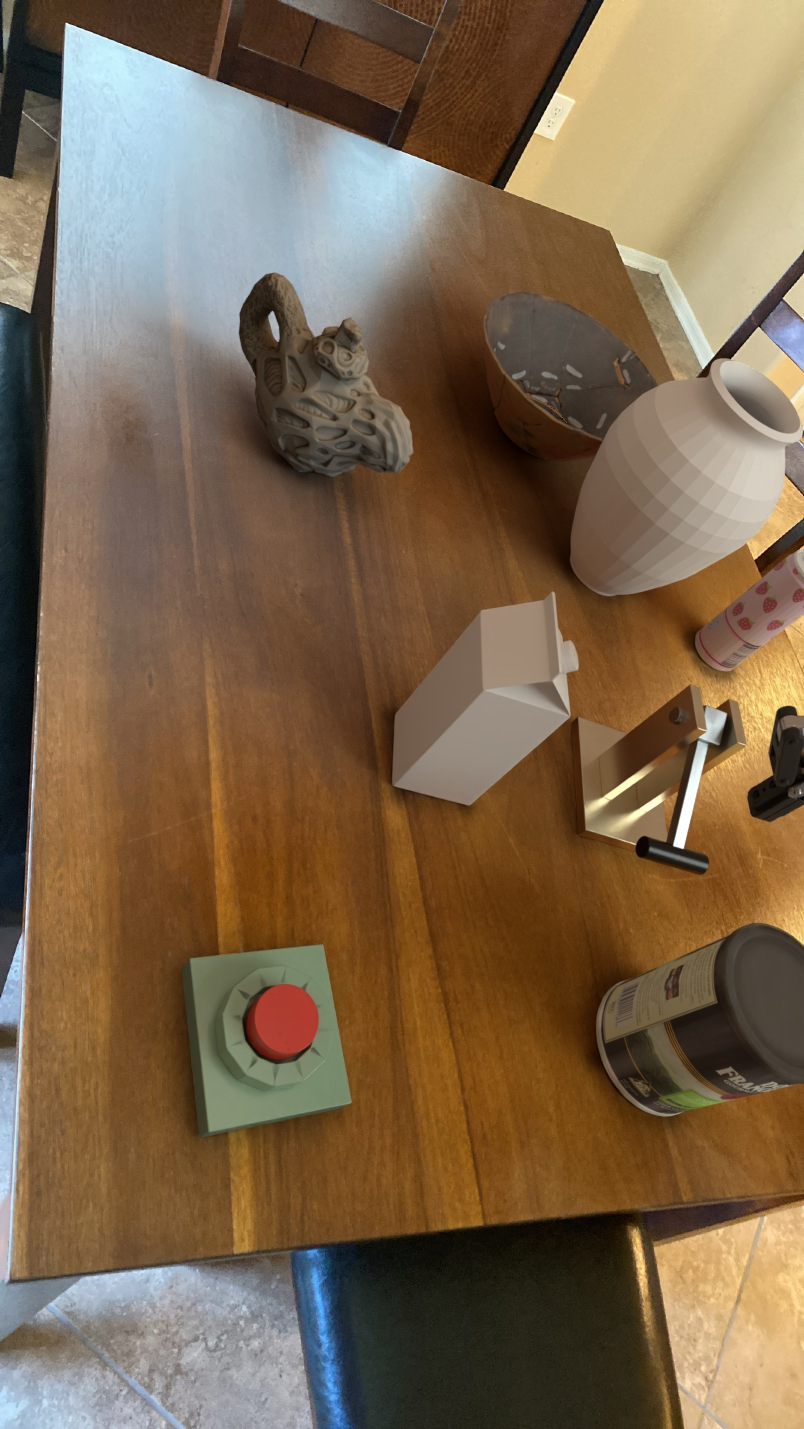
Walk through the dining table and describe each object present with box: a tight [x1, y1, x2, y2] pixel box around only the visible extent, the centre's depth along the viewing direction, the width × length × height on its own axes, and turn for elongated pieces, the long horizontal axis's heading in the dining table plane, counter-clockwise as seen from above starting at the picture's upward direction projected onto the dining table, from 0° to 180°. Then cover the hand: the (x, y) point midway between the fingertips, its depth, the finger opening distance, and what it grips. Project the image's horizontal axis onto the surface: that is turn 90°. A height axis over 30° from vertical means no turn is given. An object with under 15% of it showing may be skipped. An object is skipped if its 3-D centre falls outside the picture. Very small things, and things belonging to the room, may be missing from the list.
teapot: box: [238, 272, 414, 478], centre depth 80 cm, size 21×12×15 cm, turn 53°
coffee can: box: [595, 922, 804, 1117], centre depth 62 cm, size 10×10×14 cm
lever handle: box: [635, 704, 727, 876], centre depth 71 cm, size 13×6×2 cm, turn 176°
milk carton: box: [391, 591, 580, 806], centre depth 66 cm, size 7×7×19 cm
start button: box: [246, 984, 319, 1060], centre depth 52 cm, size 4×4×2 cm
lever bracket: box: [570, 683, 748, 853], centre depth 75 cm, size 12×9×14 cm
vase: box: [569, 358, 804, 597], centre depth 88 cm, size 18×18×25 cm
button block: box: [181, 943, 353, 1138], centre depth 54 cm, size 10×9×4 cm
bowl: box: [481, 291, 659, 463], centre depth 103 cm, size 25×25×10 cm
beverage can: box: [694, 549, 804, 672], centre depth 93 cm, size 6×6×15 cm
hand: (757, 808), depth 63 cm, fingers closed
